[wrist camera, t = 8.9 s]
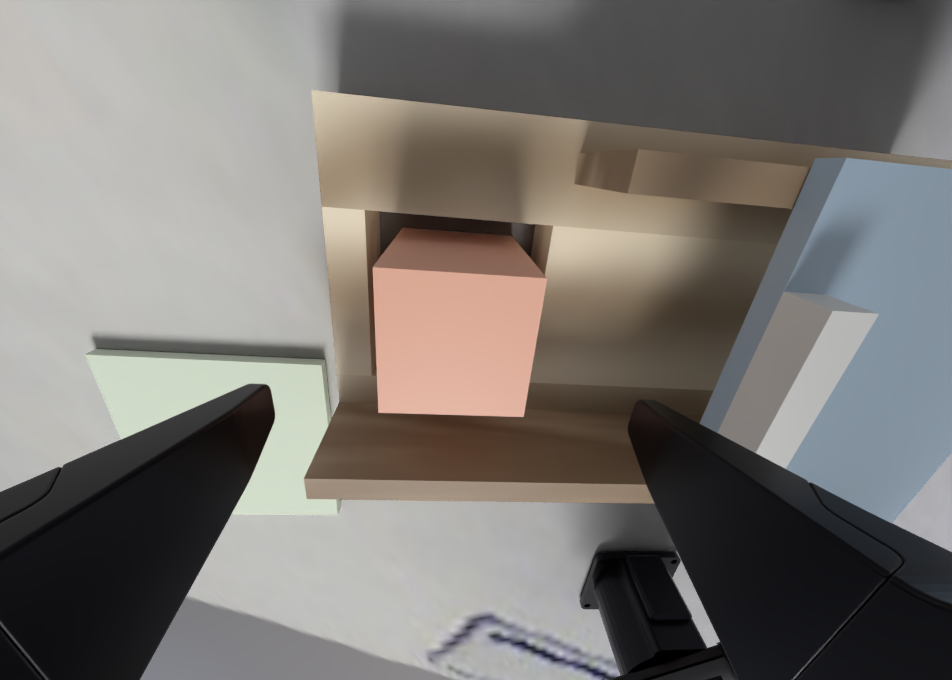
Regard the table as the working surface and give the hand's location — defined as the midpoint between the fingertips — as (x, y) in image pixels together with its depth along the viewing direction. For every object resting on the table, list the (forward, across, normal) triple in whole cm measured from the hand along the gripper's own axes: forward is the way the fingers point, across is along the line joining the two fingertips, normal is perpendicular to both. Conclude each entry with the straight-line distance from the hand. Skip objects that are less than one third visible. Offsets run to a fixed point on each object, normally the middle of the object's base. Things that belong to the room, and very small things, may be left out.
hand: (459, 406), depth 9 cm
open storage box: (+10, -7, 0) cm, 12 cm away
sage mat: (+10, +12, +10) cm, 18 cm away
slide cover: (+2, -13, 0) cm, 13 cm away
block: (+10, 0, 0) cm, 10 cm away
